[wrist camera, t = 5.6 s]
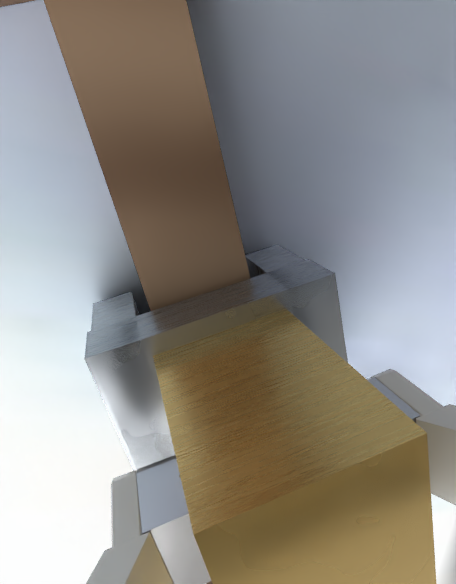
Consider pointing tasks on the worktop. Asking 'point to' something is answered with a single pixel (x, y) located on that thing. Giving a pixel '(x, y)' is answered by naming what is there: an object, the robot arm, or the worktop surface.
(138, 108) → the rail
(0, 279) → the worktop surface
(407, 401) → the robot arm
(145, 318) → the slider
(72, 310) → the worktop surface
